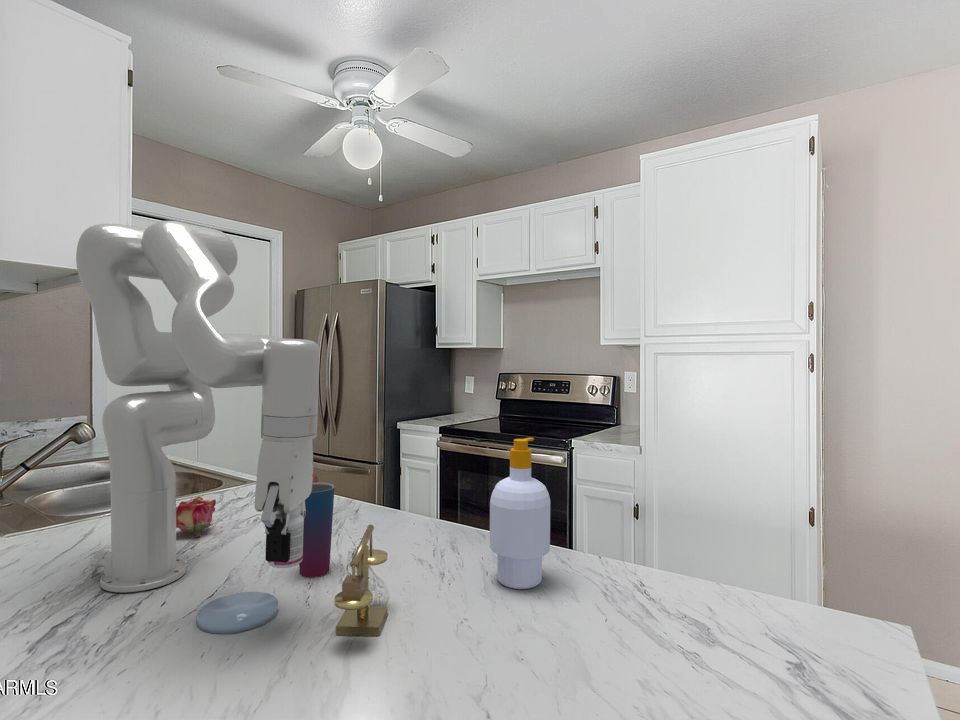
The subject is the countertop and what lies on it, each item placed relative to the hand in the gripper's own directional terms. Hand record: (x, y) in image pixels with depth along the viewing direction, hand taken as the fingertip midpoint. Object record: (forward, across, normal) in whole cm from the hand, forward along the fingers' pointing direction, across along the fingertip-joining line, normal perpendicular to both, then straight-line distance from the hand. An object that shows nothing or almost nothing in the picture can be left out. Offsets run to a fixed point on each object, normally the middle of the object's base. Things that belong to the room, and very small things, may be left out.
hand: (285, 551), depth 79 cm
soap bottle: (+10, -16, +34) cm, 39 cm away
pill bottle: (+2, 0, 0) cm, 2 cm away
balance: (+10, 0, +11) cm, 15 cm away
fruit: (+13, -62, -20) cm, 67 cm away
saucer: (+11, -2, -8) cm, 13 cm away
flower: (+13, -36, -34) cm, 51 cm away
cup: (+11, -18, -2) cm, 21 cm away
